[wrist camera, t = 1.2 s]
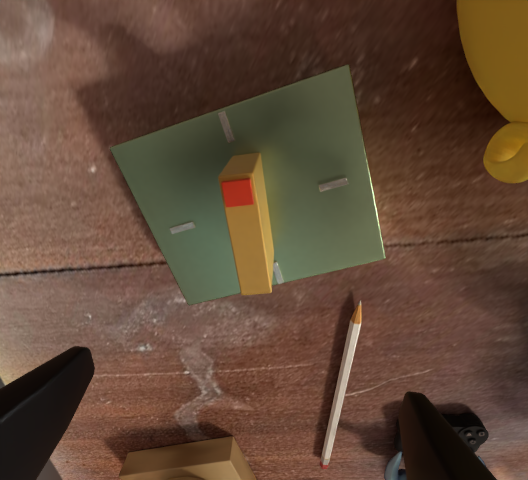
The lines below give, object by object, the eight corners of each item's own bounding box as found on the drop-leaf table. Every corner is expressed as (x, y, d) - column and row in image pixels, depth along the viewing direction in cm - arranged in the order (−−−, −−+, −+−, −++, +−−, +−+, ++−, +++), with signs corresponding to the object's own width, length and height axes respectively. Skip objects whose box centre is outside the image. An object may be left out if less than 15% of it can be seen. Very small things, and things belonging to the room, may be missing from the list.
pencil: (319, 460, 31) (320, 468, 30) (353, 296, 23) (355, 302, 22) (327, 461, 31) (328, 469, 30) (365, 297, 23) (367, 303, 22)
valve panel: (199, 279, 23) (187, 307, 20) (133, 138, 19) (106, 148, 16) (372, 236, 21) (386, 260, 18) (339, 66, 17) (350, 63, 14)
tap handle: (274, 251, 18) (271, 296, 14) (249, 254, 18) (240, 299, 15) (260, 151, 16) (253, 173, 12) (232, 155, 16) (216, 178, 12)
